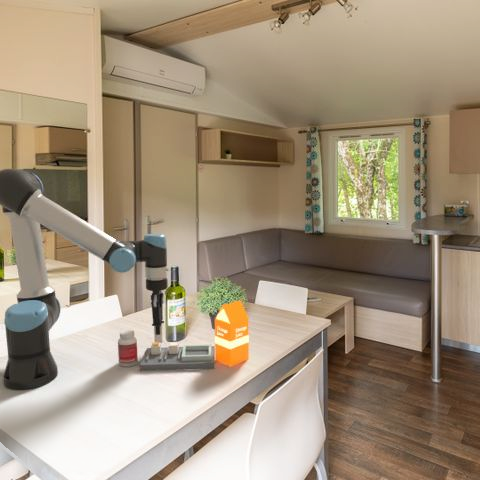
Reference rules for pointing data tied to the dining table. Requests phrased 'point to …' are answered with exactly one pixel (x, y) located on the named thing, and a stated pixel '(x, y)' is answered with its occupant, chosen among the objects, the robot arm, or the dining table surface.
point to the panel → (180, 358)
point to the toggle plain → (173, 348)
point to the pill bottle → (127, 348)
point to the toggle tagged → (155, 348)
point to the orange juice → (232, 334)
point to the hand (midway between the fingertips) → (158, 342)
